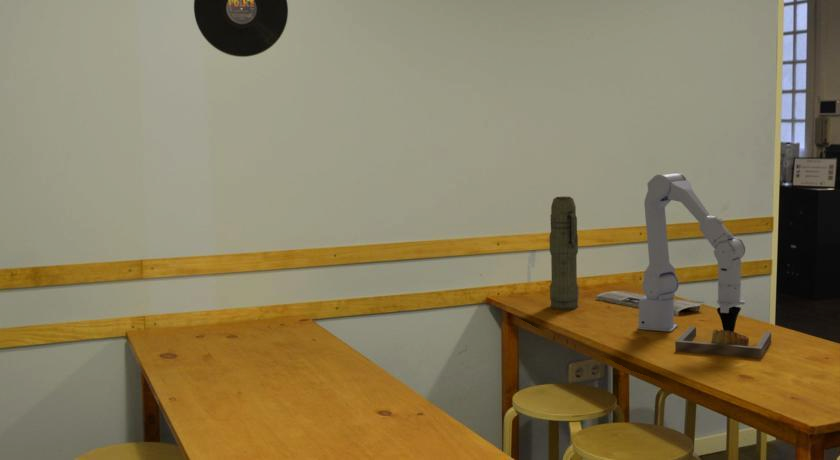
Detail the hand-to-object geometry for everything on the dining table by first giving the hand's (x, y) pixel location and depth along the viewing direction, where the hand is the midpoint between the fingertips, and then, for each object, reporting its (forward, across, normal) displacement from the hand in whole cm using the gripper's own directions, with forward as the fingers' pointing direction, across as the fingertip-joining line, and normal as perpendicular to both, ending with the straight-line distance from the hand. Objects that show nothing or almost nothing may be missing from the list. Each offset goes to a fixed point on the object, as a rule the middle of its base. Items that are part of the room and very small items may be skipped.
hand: (728, 334), depth 259 cm
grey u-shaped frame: (+2, -6, 0) cm, 7 cm away
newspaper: (+2, +39, +31) cm, 49 cm away
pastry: (+2, -4, 0) cm, 4 cm away
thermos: (+2, +27, +55) cm, 61 cm away
